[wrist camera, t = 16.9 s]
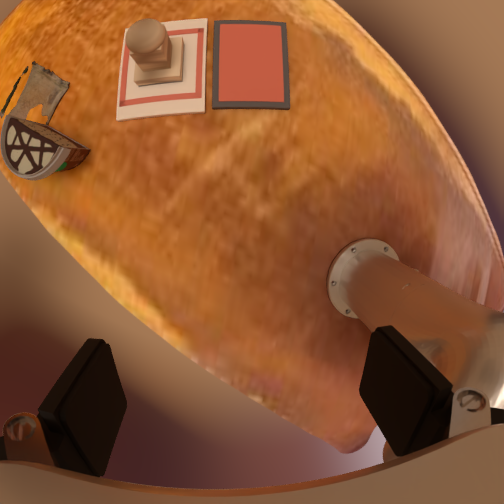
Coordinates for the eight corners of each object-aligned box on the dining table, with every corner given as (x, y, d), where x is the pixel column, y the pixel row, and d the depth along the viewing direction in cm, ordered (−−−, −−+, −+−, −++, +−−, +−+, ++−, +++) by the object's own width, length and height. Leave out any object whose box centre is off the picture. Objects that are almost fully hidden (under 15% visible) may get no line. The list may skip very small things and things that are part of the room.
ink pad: (284, 25, 32) (286, 22, 31) (288, 109, 35) (290, 108, 34) (214, 23, 31) (214, 20, 30) (212, 109, 35) (212, 107, 33)
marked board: (207, 21, 31) (207, 17, 30) (205, 113, 35) (204, 111, 33) (127, 31, 30) (125, 28, 29) (118, 121, 34) (115, 120, 32)
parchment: (32, 59, 29) (29, 58, 28) (75, 84, 31) (72, 83, 30) (-3, 122, 31) (-7, 121, 30) (34, 154, 33) (31, 154, 32)
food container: (27, 158, 33) (-14, 158, 23) (43, 122, 32) (4, 113, 22) (79, 192, 35) (41, 198, 26) (98, 153, 34) (62, 148, 25)
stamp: (184, 44, 31) (171, 2, 20) (182, 81, 32) (167, 47, 21) (142, 49, 30) (117, 12, 20) (138, 86, 32) (109, 56, 21)
